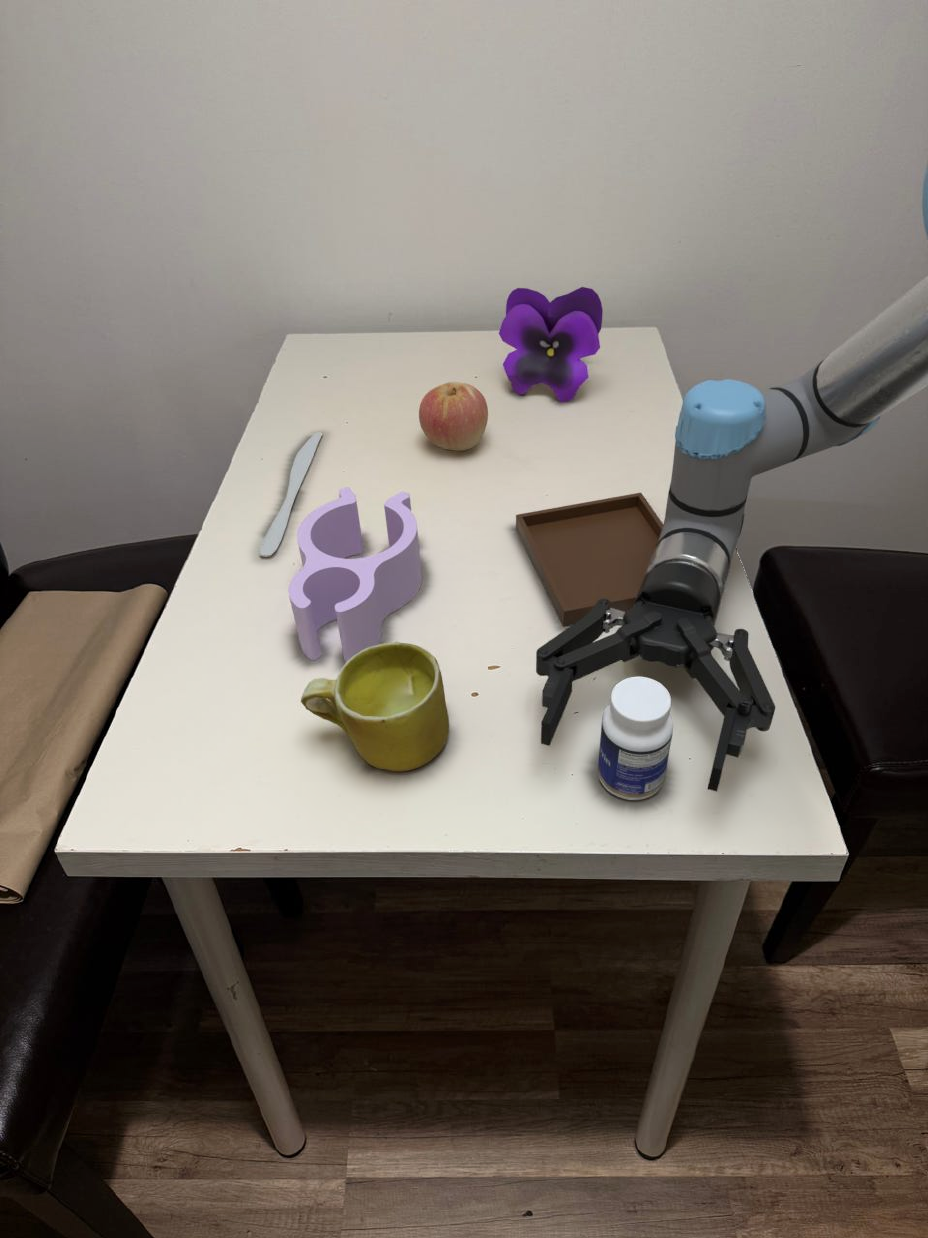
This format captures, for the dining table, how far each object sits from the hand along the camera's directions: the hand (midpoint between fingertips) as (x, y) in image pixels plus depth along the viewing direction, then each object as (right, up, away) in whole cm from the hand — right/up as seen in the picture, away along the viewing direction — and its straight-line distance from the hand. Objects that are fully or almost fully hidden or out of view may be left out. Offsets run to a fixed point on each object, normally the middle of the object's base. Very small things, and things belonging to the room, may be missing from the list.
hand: (627, 756), depth 70 cm
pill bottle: (+1, -3, +6) cm, 7 cm away
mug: (-20, 0, +10) cm, 23 cm away
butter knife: (-34, +27, +40) cm, 59 cm away
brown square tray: (+3, +17, +27) cm, 32 cm away
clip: (-24, +13, +25) cm, 37 cm away
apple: (-14, +34, +47) cm, 60 cm away
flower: (0, +46, +59) cm, 75 cm away
